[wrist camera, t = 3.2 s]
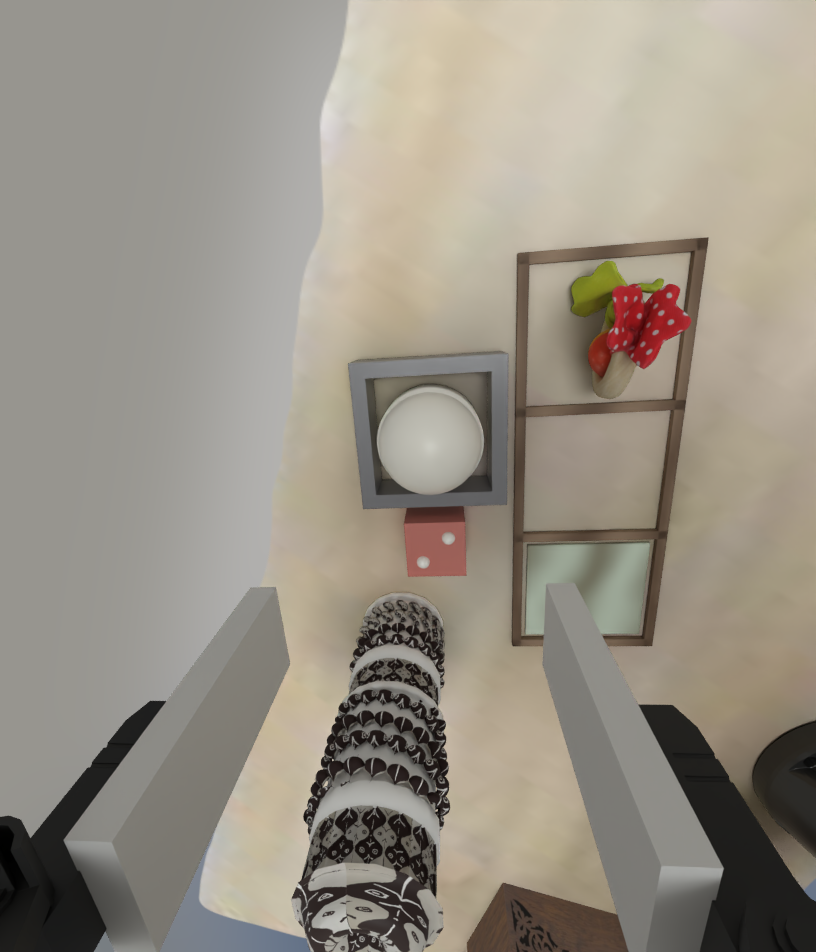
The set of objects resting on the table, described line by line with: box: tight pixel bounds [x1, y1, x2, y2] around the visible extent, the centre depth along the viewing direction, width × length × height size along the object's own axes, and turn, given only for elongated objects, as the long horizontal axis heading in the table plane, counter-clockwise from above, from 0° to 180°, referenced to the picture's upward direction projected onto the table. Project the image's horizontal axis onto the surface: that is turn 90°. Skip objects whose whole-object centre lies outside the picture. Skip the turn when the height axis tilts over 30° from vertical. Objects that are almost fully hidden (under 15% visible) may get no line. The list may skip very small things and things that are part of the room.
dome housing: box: [348, 351, 508, 577], centre depth 36 cm, size 12×18×6 cm, turn 4°
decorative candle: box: [291, 592, 450, 952], centre depth 33 cm, size 9×9×25 cm
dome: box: [377, 384, 484, 495], centre depth 32 cm, size 8×8×8 cm
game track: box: [512, 237, 709, 646], centre depth 38 cm, size 14×36×1 cm, turn 4°
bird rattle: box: [571, 261, 692, 399], centre depth 30 cm, size 6×11×9 cm
